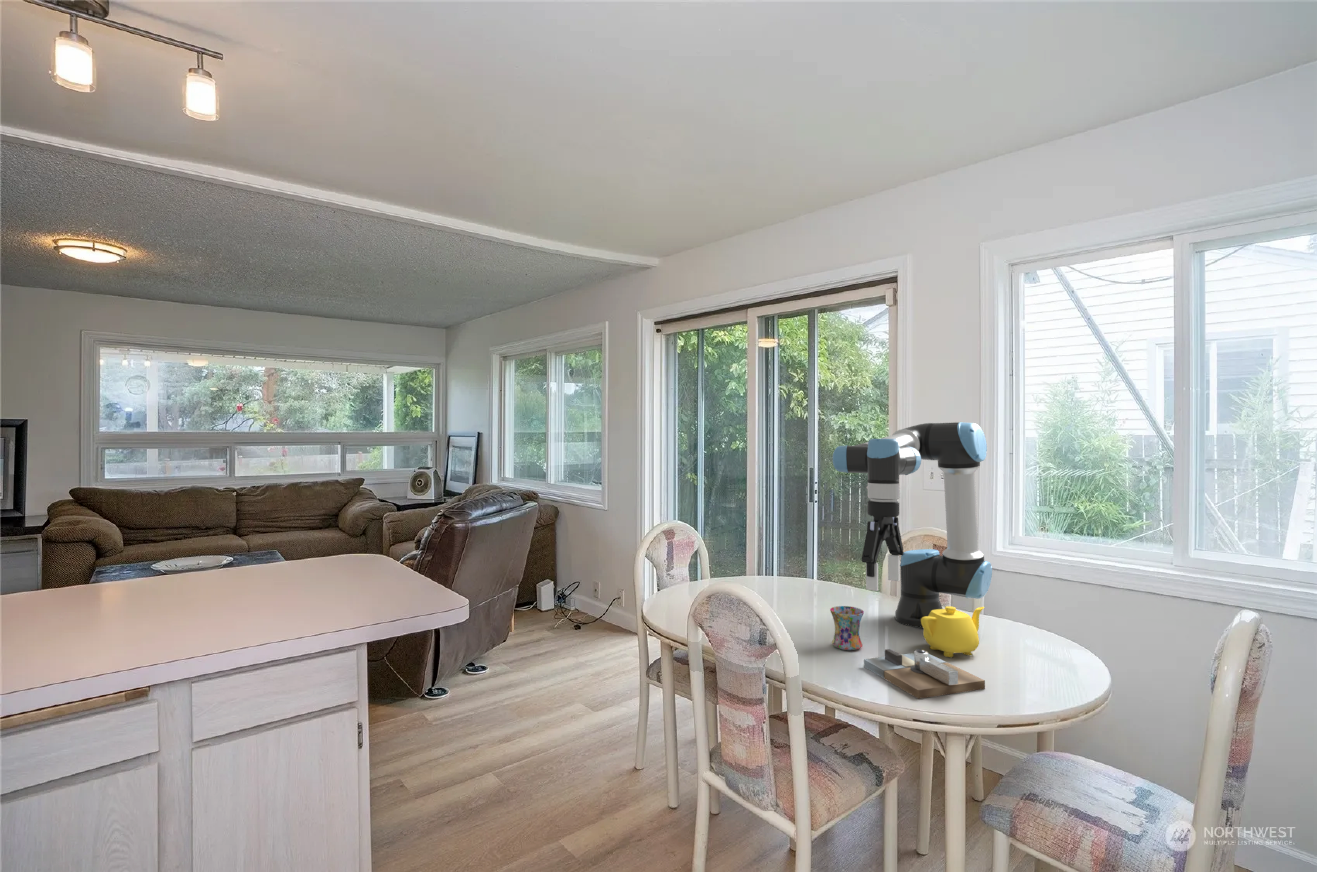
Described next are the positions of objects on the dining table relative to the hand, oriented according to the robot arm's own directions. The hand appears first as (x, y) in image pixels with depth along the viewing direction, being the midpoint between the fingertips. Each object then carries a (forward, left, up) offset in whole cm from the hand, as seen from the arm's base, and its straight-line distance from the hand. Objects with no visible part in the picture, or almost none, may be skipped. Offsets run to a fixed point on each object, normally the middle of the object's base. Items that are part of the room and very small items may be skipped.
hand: (883, 585), depth 158 cm
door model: (-9, +2, -24) cm, 25 cm away
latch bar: (-9, +7, -21) cm, 24 cm away
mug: (-5, -25, -24) cm, 34 cm away
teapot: (-31, -12, -24) cm, 41 cm away
